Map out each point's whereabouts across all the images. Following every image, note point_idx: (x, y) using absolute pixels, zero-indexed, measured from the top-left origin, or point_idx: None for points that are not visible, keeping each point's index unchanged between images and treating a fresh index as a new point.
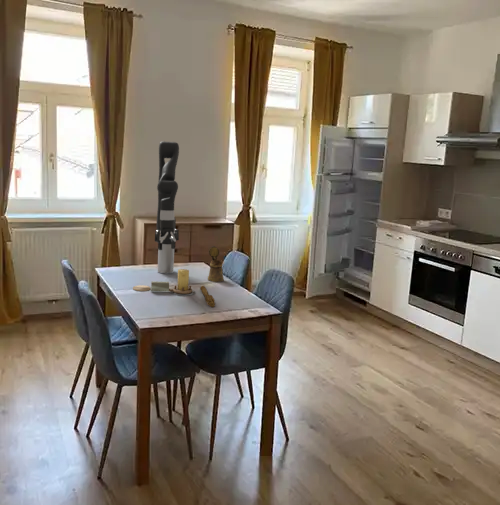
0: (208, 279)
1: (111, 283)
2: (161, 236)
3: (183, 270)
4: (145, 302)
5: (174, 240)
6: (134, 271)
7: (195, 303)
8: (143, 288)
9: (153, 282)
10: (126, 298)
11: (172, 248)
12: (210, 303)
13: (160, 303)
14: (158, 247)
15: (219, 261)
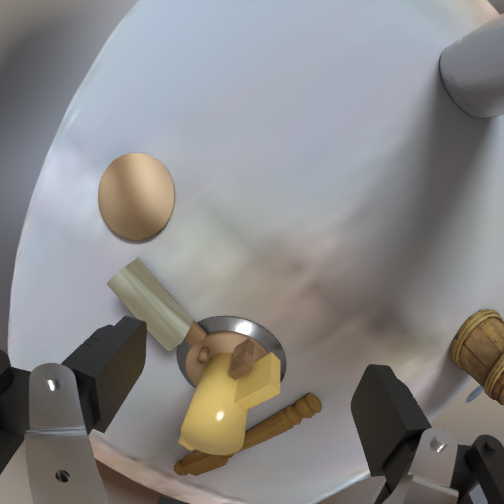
0: (464, 325)
1: (115, 44)
2: (79, 500)
3: (209, 439)
4: (56, 324)
5: (382, 498)
6: None
7: (167, 433)
8: (129, 213)
9: (113, 291)
10: (33, 251)
11: (361, 384)
12: (174, 469)
13: None
14: (94, 343)
15: None
